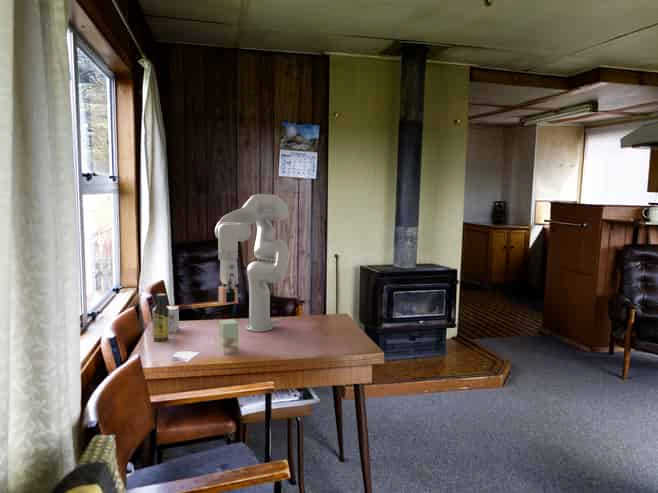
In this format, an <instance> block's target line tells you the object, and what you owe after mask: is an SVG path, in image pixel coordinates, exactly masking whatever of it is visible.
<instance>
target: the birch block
mask: <svg viewBox="0 0 658 493" xmlns="http://www.w3.org/2000/svg"><path fill="white" fill-rule="evenodd" d="M218 336H219V337H218V338H219V340H218V341H219V342H218V343H219V344H218V345H219V347H218V349H219V351H220V352H221V353H222V354H223V355H226V354H235V353H239V337H238V338H230V339H223V338H222V337H221V336H220V335H219V334H218Z"/></svg>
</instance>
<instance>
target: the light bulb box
mask: <svg viewBox="0 0 658 493" xmlns="http://www.w3.org/2000/svg"><path fill="white" fill-rule="evenodd" d="M166 306H167V307H168V309H169V333H176V332H178V330H179V329H180V323H179V322H180V316H179V310H180V309H179V308H180V306H179V305H166ZM155 308H156V305H155V306H154V307H153V308H151V328H152V330H151V333H153V321H154V311H155Z"/></svg>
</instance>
